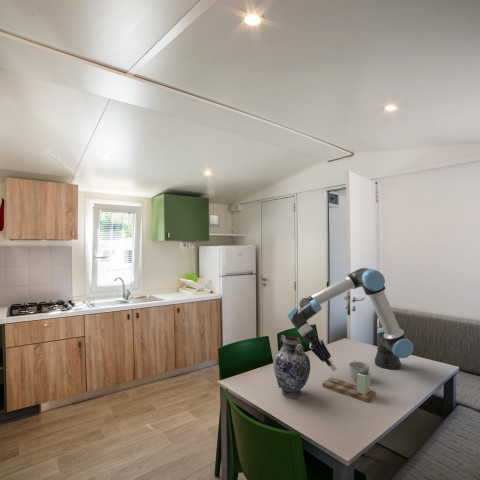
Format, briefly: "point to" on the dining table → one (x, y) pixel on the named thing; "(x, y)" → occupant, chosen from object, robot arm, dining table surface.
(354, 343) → the dining table surface
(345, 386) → the fader track
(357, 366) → the teacup
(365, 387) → the fader tab
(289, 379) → the decorative vase
